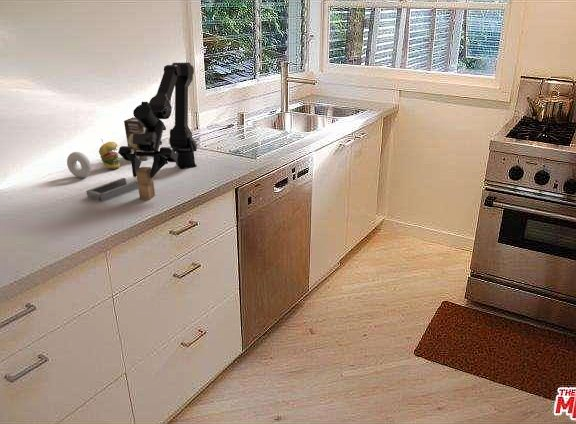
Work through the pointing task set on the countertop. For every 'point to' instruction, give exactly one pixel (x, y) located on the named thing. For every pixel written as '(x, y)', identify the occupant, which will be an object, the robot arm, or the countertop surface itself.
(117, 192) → the grey tray
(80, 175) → the donut
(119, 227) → the countertop surface
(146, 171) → the brown wooden block
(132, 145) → the coffee box
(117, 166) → the hamburger
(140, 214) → the countertop surface
